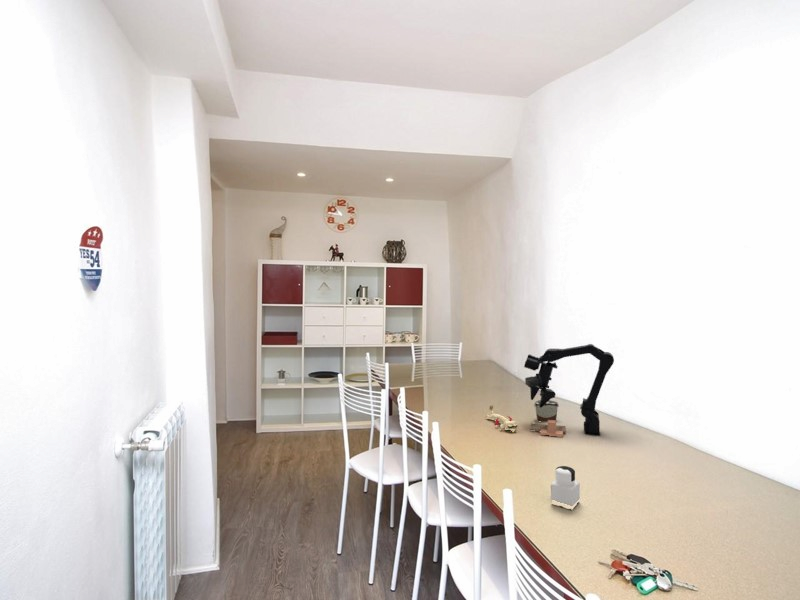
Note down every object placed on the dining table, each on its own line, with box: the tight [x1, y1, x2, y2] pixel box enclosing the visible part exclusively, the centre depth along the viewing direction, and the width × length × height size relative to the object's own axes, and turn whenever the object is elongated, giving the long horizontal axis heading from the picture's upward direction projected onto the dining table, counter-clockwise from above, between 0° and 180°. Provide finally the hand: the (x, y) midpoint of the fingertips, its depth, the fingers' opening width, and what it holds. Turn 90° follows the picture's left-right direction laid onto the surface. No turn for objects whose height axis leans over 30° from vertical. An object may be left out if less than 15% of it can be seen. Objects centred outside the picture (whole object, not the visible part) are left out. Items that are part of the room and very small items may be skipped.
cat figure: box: [486, 405, 519, 431], centre depth 238 cm, size 10×9×25 cm
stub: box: [539, 419, 564, 438], centre depth 222 cm, size 10×4×6 cm, turn 70°
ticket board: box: [529, 422, 567, 435], centre depth 229 cm, size 17×8×2 cm, turn 70°
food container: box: [533, 399, 560, 423], centre depth 245 cm, size 12×6×10 cm, turn 84°
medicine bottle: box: [550, 465, 581, 506], centre depth 156 cm, size 7×7×12 cm
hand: (536, 403), depth 233 cm, fingers open, 9 cm apart
